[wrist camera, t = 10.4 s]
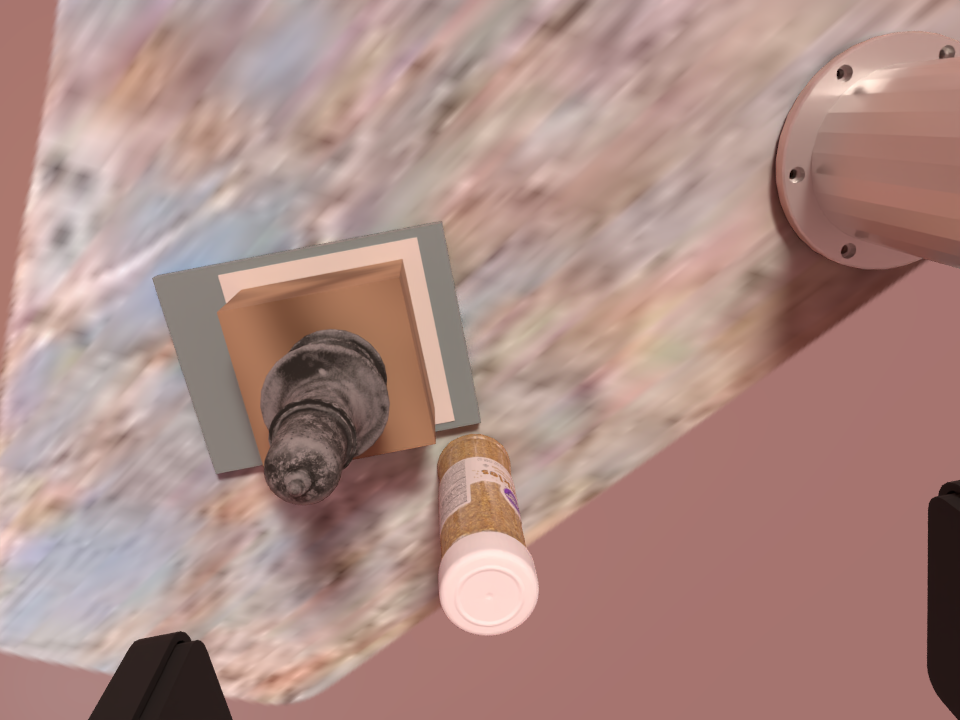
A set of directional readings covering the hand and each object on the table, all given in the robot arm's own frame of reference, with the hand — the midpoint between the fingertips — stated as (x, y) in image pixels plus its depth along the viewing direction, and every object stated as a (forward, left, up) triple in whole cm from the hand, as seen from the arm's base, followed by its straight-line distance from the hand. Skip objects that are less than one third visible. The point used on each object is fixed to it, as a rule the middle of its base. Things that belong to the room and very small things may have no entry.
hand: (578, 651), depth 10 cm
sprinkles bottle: (+2, +14, -34) cm, 37 cm away
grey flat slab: (+9, +5, -34) cm, 35 cm away
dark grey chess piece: (+8, +5, -28) cm, 30 cm away
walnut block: (+8, +5, -33) cm, 34 cm away
